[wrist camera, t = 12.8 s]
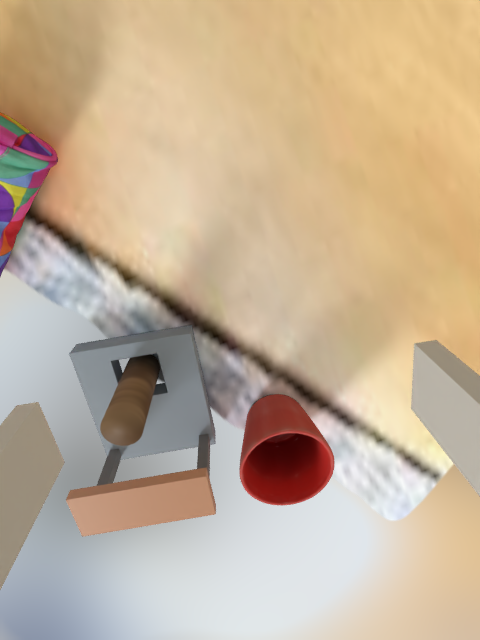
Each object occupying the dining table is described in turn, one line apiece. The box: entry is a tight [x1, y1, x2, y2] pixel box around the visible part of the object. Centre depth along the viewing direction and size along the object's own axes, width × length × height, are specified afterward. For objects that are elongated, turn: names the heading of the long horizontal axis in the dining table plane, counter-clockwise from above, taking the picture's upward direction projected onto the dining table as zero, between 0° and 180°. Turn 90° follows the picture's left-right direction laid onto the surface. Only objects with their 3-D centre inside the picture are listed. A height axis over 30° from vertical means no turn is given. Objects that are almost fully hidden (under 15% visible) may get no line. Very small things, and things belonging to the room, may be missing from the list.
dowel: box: [100, 354, 160, 446], centre depth 41 cm, size 4×4×12 cm
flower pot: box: [240, 394, 334, 505], centre depth 46 cm, size 11×11×10 cm
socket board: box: [66, 325, 216, 536], centre depth 42 cm, size 16×14×13 cm
